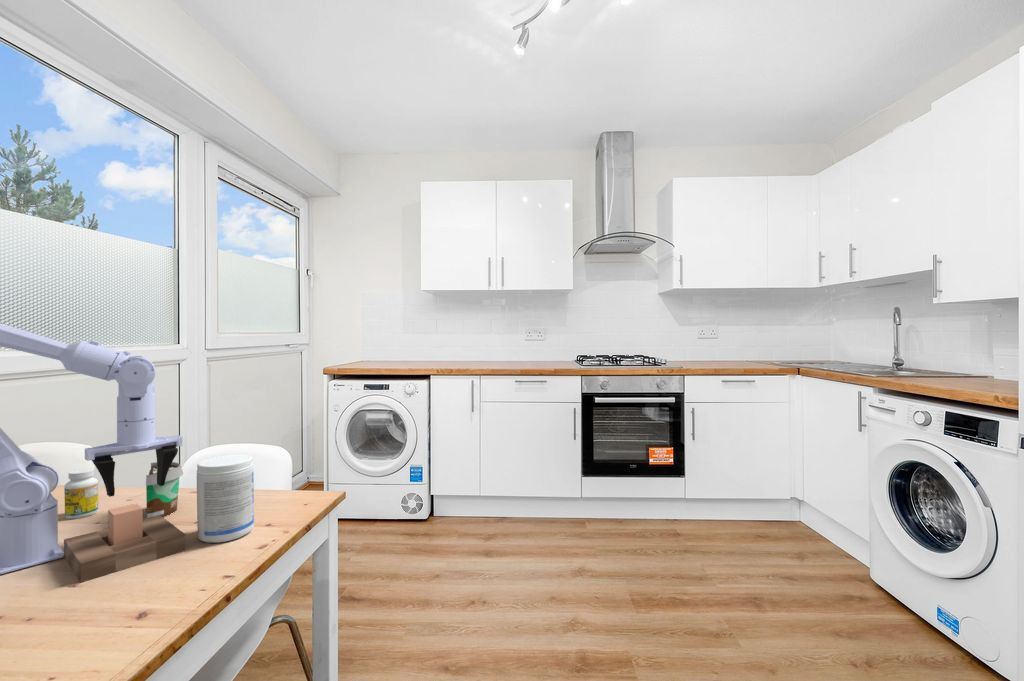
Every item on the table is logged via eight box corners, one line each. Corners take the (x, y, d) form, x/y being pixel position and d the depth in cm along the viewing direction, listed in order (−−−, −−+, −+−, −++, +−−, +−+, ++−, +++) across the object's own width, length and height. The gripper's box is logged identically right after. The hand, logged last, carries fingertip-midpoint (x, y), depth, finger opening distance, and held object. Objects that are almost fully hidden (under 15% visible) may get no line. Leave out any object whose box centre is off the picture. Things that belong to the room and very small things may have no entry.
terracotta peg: (108, 554, 82) (108, 509, 82) (136, 546, 85) (136, 503, 85) (113, 561, 80) (113, 515, 80) (142, 552, 83) (142, 508, 83)
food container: (182, 517, 99) (182, 471, 99) (146, 523, 95) (145, 476, 95) (184, 500, 109) (184, 458, 109) (151, 505, 106) (151, 462, 105)
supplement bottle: (104, 510, 102) (104, 468, 102) (78, 520, 97) (78, 475, 97) (84, 509, 103) (84, 466, 103) (57, 518, 98) (57, 473, 98)
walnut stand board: (63, 556, 81) (63, 539, 81) (160, 530, 92) (160, 515, 92) (80, 582, 73) (80, 563, 73) (184, 550, 84) (184, 533, 84)
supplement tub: (264, 528, 93) (264, 456, 93) (219, 548, 84) (219, 469, 84) (231, 521, 97) (231, 451, 97) (185, 539, 88) (185, 463, 88)
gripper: (90, 427, 80) (91, 505, 80) (187, 416, 92) (188, 484, 92) (81, 423, 84) (82, 496, 85) (175, 412, 96) (176, 477, 96)
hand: (136, 489), depth 88 cm, fingers open, 7 cm apart
